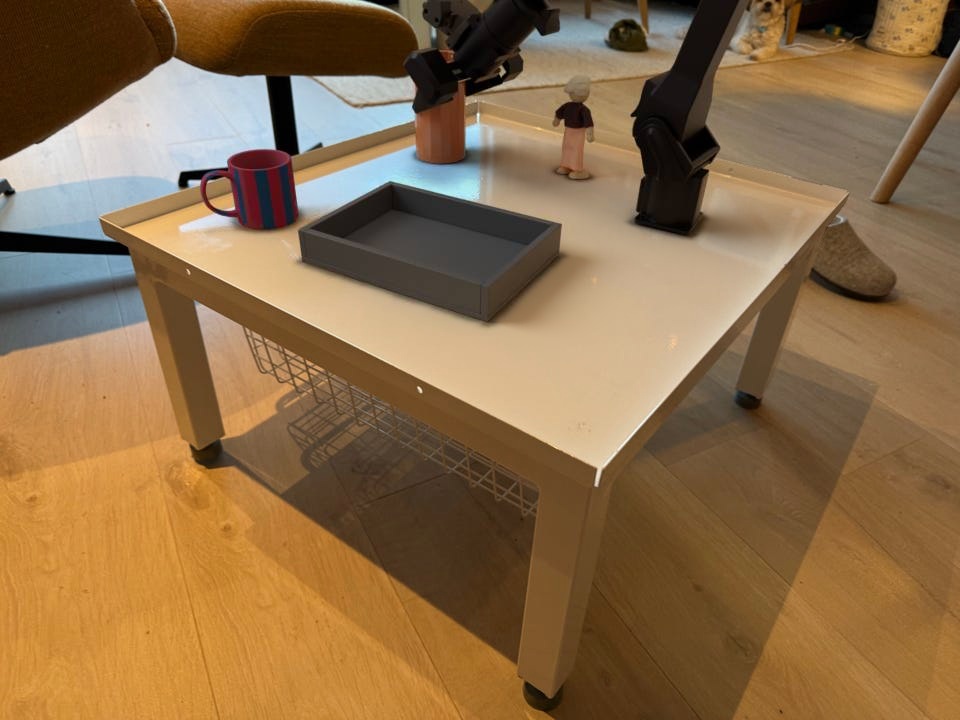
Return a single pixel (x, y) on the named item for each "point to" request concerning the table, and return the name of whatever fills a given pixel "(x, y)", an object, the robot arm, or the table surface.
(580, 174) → the grandmother figurine
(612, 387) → the table surface
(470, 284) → the dark grey shallow tray
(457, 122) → the tumbler
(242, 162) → the mug
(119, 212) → the table surface
